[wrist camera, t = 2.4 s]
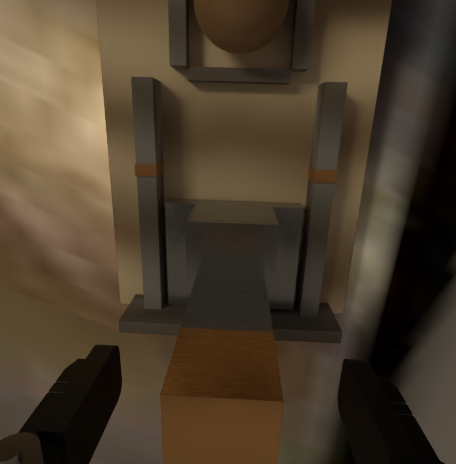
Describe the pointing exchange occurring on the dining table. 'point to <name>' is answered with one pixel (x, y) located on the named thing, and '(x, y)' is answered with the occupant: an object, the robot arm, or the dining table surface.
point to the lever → (227, 328)
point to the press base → (239, 141)
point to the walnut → (240, 22)
